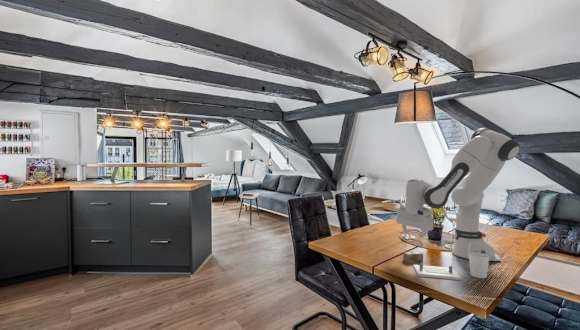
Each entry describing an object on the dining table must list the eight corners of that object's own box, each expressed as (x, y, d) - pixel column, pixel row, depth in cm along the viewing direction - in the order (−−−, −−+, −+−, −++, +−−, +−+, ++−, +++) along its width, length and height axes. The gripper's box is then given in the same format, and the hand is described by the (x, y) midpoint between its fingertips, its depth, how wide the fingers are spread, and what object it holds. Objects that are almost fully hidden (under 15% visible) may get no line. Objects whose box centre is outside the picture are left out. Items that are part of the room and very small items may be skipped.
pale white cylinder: (480, 272, 141) (481, 251, 141) (492, 279, 133) (493, 257, 133) (464, 272, 141) (465, 251, 140) (475, 279, 133) (476, 257, 133)
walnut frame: (418, 260, 157) (418, 251, 157) (422, 263, 153) (423, 253, 153) (403, 261, 155) (403, 252, 155) (407, 264, 151) (407, 254, 151)
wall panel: (452, 270, 143) (452, 262, 143) (460, 280, 131) (460, 271, 131) (413, 266, 147) (413, 259, 147) (418, 276, 136) (418, 268, 135)
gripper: (394, 206, 160) (393, 231, 161) (428, 213, 143) (427, 241, 143) (401, 205, 164) (400, 230, 164) (435, 212, 146) (434, 239, 146)
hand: (413, 235), depth 153 cm, fingers open, 8 cm apart
